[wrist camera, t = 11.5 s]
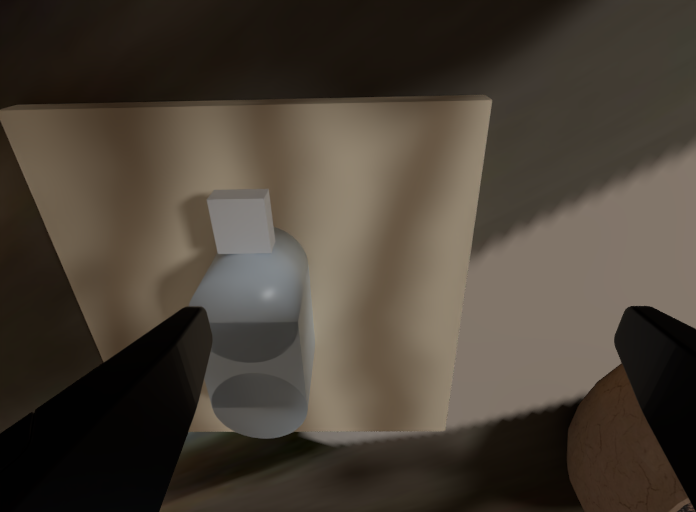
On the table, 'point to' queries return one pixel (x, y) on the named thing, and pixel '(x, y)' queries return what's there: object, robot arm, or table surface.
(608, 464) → the potted plant
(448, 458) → the table surface
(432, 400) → the birch board
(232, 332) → the usb stick
